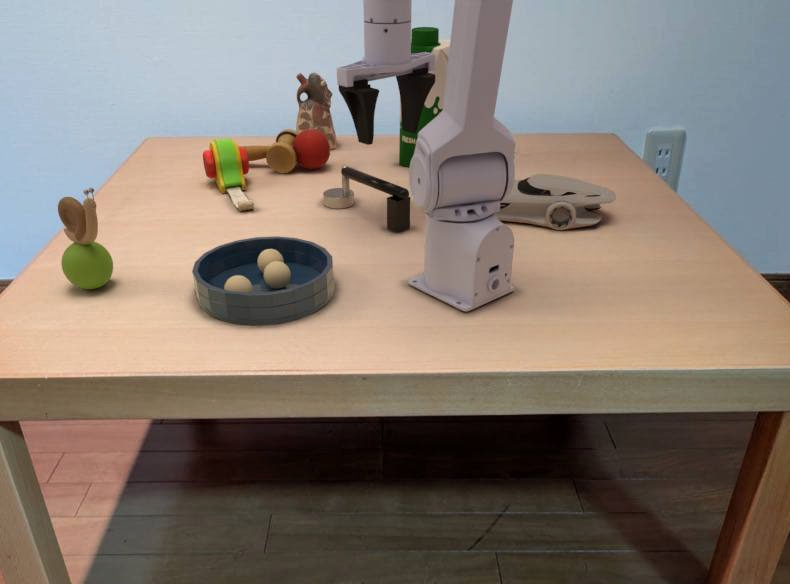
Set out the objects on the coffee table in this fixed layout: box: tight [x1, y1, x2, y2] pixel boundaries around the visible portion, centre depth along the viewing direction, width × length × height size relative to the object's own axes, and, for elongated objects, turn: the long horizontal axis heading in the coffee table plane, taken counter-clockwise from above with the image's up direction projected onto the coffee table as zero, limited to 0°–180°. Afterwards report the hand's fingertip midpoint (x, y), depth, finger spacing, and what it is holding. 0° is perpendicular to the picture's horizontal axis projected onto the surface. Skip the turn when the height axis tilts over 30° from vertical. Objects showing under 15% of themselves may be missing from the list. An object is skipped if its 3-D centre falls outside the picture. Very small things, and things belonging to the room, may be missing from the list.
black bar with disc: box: [322, 164, 411, 234], centre depth 100 cm, size 17×4×6 cm, turn 40°
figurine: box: [295, 72, 338, 151], centre depth 125 cm, size 7×7×12 cm
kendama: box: [238, 128, 331, 174], centre depth 117 cm, size 8×6×18 cm
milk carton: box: [398, 26, 451, 167], centre depth 114 cm, size 9×9×20 cm
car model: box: [495, 173, 617, 231], centre depth 100 cm, size 11×24×5 cm, turn 78°
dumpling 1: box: [224, 275, 253, 293], centre depth 78 cm, size 3×3×3 cm
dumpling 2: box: [257, 249, 284, 273], centre depth 84 cm, size 3×3×3 cm
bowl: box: [191, 235, 335, 326], centre depth 81 cm, size 15×15×4 cm
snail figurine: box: [57, 187, 114, 290], centre depth 80 cm, size 5×6×12 cm
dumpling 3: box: [264, 261, 291, 289], centre depth 81 cm, size 3×3×3 cm
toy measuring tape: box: [202, 137, 255, 212], centre depth 108 cm, size 6×19×7 cm, turn 20°
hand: (388, 137), depth 95 cm, fingers open, 7 cm apart
